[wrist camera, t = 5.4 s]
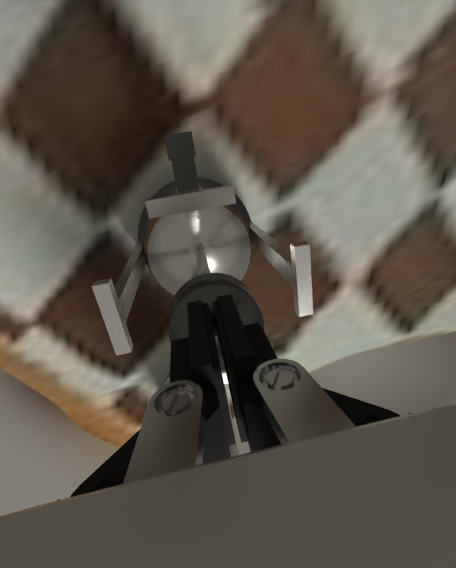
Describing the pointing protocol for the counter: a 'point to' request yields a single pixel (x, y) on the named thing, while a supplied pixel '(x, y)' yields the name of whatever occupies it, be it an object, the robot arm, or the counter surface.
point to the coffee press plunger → (202, 265)
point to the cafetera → (186, 198)
